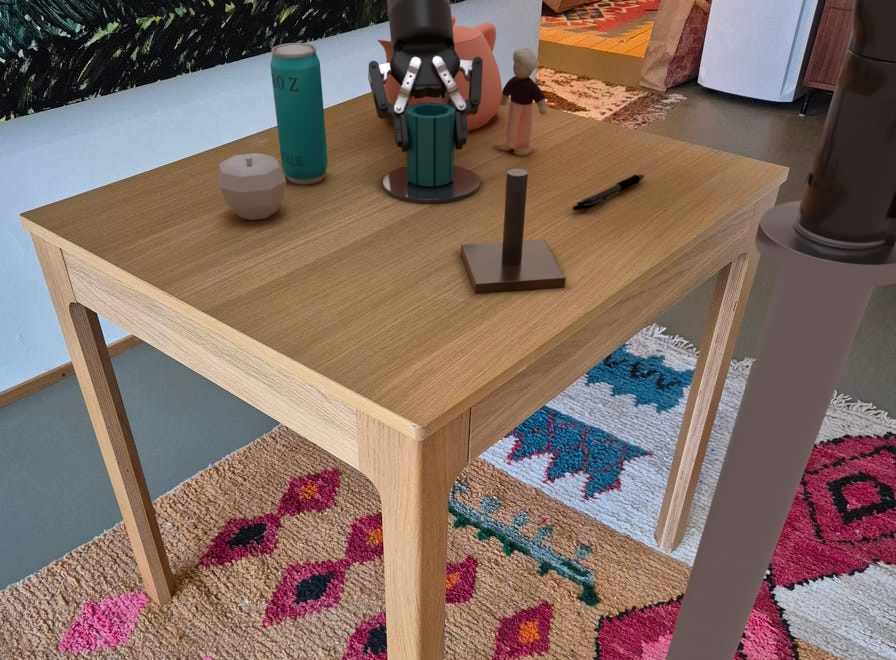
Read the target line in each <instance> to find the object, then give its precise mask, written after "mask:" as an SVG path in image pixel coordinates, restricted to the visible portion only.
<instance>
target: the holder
mask: <svg viewBox="0 0 896 660" xmlns="http://www.w3.org/2000/svg"><path fill="white" fill-rule="evenodd" d="M528 178H529V172H528V171H527V170H525V169H523V168H511V169H508V170H507V171H506V180H505V185H506V186H505V196H504V212H503V213H504V215H503V232H502V234H503V235H502V241H501V242H498V241H497V242H483V243H467V244H460V255H461V258H462V260H463V262H464V265H465V268H466V271H467V274H468V276H469V279H470V282H471V284H472V287H473V290H474V292H475V294H478V293H479V294H480V293H495V292H507V291H509V292H510V291H522V290H524V291H525V290H536V289H554V288H565V287H566V279H567V278H566V276H565V274H564V272H563V270H562V269H561V267H560V265H559V264H558V262H557V260H556V258H555V256H554V254H553V253H552V251H551V249H550V247H549V246H548V243H547V242H546V240H545V239H530V240H524V234H525V233H524V230H525V221H526V220H525V219H526V205H527V191H528Z"/></svg>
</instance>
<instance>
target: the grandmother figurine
mask: <svg viewBox="0 0 896 660" xmlns="http://www.w3.org/2000/svg"><path fill="white" fill-rule="evenodd" d="M512 60H513V65H512V71H513V74H514V75H513V77H511V78H510V79H508V81H507V82H506V84H505V85H504V87H502V95H501V99H500V101H499V102H500V104H501V105H500V106H506V105H507V104H508V100H509V98H510V101H509V107H508V119H507V128H506V134H505V135H506V136H505V137H506V138H505V141H502V142H501V143H500V144H499V147H498V149H499V150H501V151H506V152H507V151H513V154H514V155H518V156H527V155H528V154H530V153H531V152H532V147H531V146H530V143H531V136H532V135H531V134H532V129H533V127H532V126H533V104H534V103H535V104H536V105H537V107H538V112H539V114H540V115H542V116H544V115H546V114H547V112H548V108H547V105H546V104H547V103H546V95H545V94H544V92H543V91H542V89H541V88H540V86H539V85H538V84H537V83H536V82H535V81H534V80H533V78H531V77H530V76H531V75H532V74H533V71H535V70H536V69H537V68H539V67H540V63H539V62H540V61H538V57H537V55H536V54H535V53H534V51H533V49H531V47H525V46H523V47H518V48H516V49H515V50H514V52H513V54H512Z"/></svg>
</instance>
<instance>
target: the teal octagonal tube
mask: <svg viewBox="0 0 896 660" xmlns="http://www.w3.org/2000/svg"><path fill="white" fill-rule="evenodd" d="M406 120H407V130H408V141H409V147H408V152H405V153H406V166H407V180H408V181H410V182H412V183H413V184H415V185H416V184H418V185H420V186H434V185H435V186H439V185H443V184H447V183H449V182H451V181H452V179H453V178H454V166H455V159H456V158H455V151H456V149H455V108H453V107H451V106H449V105H447V104H444V105H443V103H429V102H428V103H427V104H426V103H421V104H416V105H412V106H409V108H408V109H407V110H406Z"/></svg>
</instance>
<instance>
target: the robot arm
mask: <svg viewBox="0 0 896 660" xmlns="http://www.w3.org/2000/svg"><path fill="white" fill-rule="evenodd" d="M386 3H387V10H386V11H387V12H386V13H387V19H388V23H389V25H388V26H389V33H390V34H389V35H390V41H391V46H392V58H391V60H390V63H387V62H386V63H380V64H379V63H378V61H376V60H371V61H370V62H369V63H368V76H367V78H368V82H369V86H370V91H371V94H372V98H373V103H374V106H375V110H376V114H377V117H378V118H379V119H380V120H385V119H387V120H390V121H391V122H392V123H393V133H394V142H395V143H394V144H395V146H396V147H397V148H401V153H406V152H408V147H409V141H408V130H407V120H406V114H405V113H406V110H407V108H408V106H409V104H410V101H411V99H412V96H413V97H414V99H417V98H423V97H426V96H427V97H432V98H438V97H440V98H441V99H442V101H443V103H444V104H447V105H449V106H451V107H453V108H455V150H462V149H463V146H464V145H466V143H467V139H468V136H469V131H468V128H467V118H466V116H468V115H470V114H471V115H475V114H477V112H478V107H479V104H480V102H481V87H482V67H483V60H482V58H481V57H475V58H474V59H473V61H470V60H460V58H459V56H458V55H457V53H456V51H455V46H454V36H453V27H452V16H453V15H452V7H451V0H387V2H386ZM458 71H461V72H462V73H463V74H464V78H465V80H466V81H469V99H467V100H465V101H464V99H463V98H462V96H461V94H460V93H459V90H458V86H457V84H456V83H455V81H454V78H455V76H456V75H457V73H458ZM389 74H391V75H392V76H393V78H394V79H395V80H396V81H397V82H398V83H399V84H400V86H401V88H400V92H399V95H398V98H397V100H396V103H395V104H392V103H389V102H388V100H387V96H386V92H385V88H384V84H386V82H387V76H388V75H389ZM830 101H831V102H830V105H829V108H828V112H827V114H826V118H825V122H824V125H823V128H822V132H821V135H820V138H819V142H818V145H817V147H816V148H817V149H816V151H815V155H814V159H813V163H812V165H811V167H810V169H809V172H808V173H807V175H806V179H805V183H804V185H805V189H804V192H803V195H802V198H801V201H802V202H801V204H800V207H799V212H798V214H797V216H796V219H795V222H794V226H795V228H796V230H797V231H798V232H799V233H800V234H802V235H803V236H805V237H807V238H808V239H811V240H813V241H815V242H818V243H821V244H824V245H828V246H833V247H838V248H845V249H871V248H877V247H880V246H894V245H895V243H896V0H854V1H853V5H852V27H851V33H850V36H849V40H848V43H847V47H846V50H845V54H844V57H843V61H842V64H841V68H840V70H839V74H838V77H837V80H836V85H835V87H834V92H833V95H832V98H831V100H830Z"/></svg>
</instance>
